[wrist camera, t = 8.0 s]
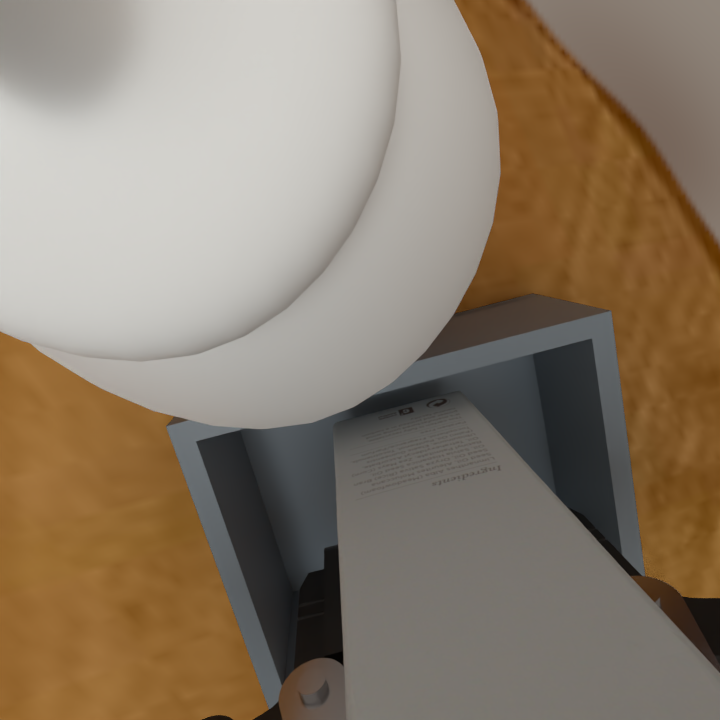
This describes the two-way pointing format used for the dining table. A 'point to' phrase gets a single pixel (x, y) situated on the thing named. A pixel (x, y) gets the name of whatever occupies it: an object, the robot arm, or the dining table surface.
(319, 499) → the bin
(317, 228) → the sauce bottle
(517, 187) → the dining table surface
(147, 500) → the dining table surface
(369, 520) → the skincare box
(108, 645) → the dining table surface
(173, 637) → the dining table surface
